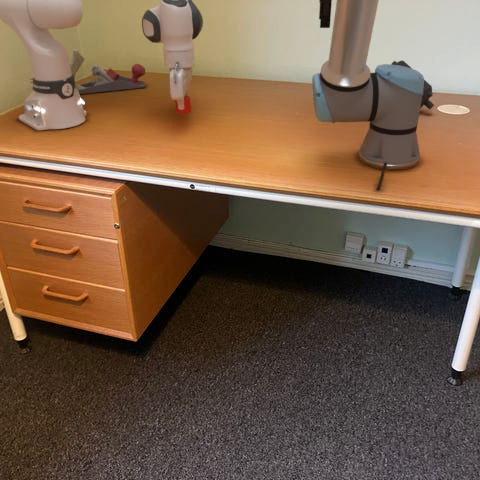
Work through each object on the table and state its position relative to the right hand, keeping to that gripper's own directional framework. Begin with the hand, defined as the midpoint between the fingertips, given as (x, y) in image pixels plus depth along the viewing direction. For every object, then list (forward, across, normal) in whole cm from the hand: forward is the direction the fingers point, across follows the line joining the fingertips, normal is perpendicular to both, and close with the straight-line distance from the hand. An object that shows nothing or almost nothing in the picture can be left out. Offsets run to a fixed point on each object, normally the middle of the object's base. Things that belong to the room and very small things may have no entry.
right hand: (324, 23), depth 154 cm
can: (+24, +9, -41) cm, 48 cm away
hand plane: (+28, -26, -78) cm, 87 cm away
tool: (+28, -8, +27) cm, 39 cm away
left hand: (+22, +9, -41) cm, 48 cm away
